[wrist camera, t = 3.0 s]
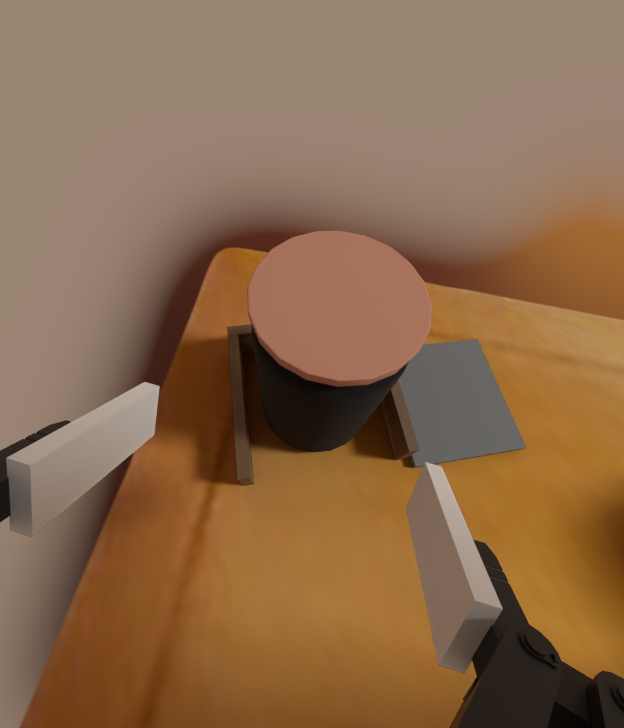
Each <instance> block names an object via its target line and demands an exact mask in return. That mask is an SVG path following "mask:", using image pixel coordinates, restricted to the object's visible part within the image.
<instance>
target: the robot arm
mask: <svg viewBox="0 0 624 728" xmlns="http://www.w3.org/2000/svg"><path fill="white" fill-rule="evenodd" d="M159 387H160V386H157V385H154V384H150V383H147V382H144V383H142V384H140V385H138V386H136V387H135V388H133V389H131V390H129V391H127V392H125V393H124V394H122V395H120V396H118V397H116V398H114V399H113V400H111V401H109V402H107V403H105V404H104V405H102V406H100V407H98V408H97V409H94V410H93V411H91V412H89V413H87V414H85V415H83V416H82V417H80V418H79V419H76V420H74V421H73V422H70V421H63V422H59V423H56V424H52V425H49V426H47V427H45V428H43V429H41V430H39V431H38V432H37V433H36V434H35V433H34V434H32V435H30V436H28V437H26V439H22V440H20V441H18V442H16V443H14V444H12V445H11V446H9V447H7V448H5V449H3V450H1V451H0V522H1V521H3V520H4V519H5V518H7V517H8V516H10V530H11V531H14V532H18V533H21V534H24V535H27V536H30V537H33V536H34V535H36V534H37V533H38V532H39V531H40V530H42V529H43V528H44V527H45V526H46V525H48V524H49V523H50V522H51V521H52V520H54V519H55V518H56V517H57V516H58V515H60V514H61V513H62V512H63V511H64V510H65V509H66V508H68V507H69V506H70V505H71V504H73V503H74V502H75V501H76V500H77V499H79V498H80V497H81V496H82V495H83V494H84V493H86V492H87V491H88V490H89V489H90V488H92V487H93V486H94V485H95V484H96V483H97V482H99V481H100V480H101V479H102V478H104V476H106V475H107V474H108V473H109V472H111V471H112V470H113V469H114V468H115V467H117V466H118V465H119V464H120V463H121V462H123V461H124V460H125V459H126V458H127V457H128V456H130V455H131V454H132V453H133V452H135V451H136V450H137V449H138V448H139V447H141V446H142V445H143V444H144V443H145V442H146V441H148V440H149V439H150V438H151V437H152V436H154V433H155V424H156V415H157V406H158V396H159ZM406 511H407V516H408V520H409V525H410V530H411V535H412V540H413V544H414V549H415V554H416V559H417V564H418V568H419V573H420V578H421V583H422V587H423V592H424V597H425V602H426V607H427V611H428V616H429V621H430V626H431V631H432V635H433V640H434V645H435V650H436V654H437V659H438V664H439V666H442V667H445V668H448V669H452V670H455V671H458V672H461V673H465V671H466V670H467V668H468V666H469V665H470V663H471V661H473V664H474V668H475V671H476V675H477V677H476V679H475V681H474V682H473V684H472V685H471V687H470V689H469V690H468V692H467V693H466V695H465V697H464V698H463V700H464V701H463V703H462V705H461V707H460V709H459V711H458V712H457V714H456V716H455V718H454V720H453V722H452V724H451V726H450V728H624V679H623V678H621V677H619V676H617V675H615V674H613V673H611V672H606V671H601V672H600V673H598V674H597V675H596V676H595V678H594V679H593V680H592V679H591V678H589V677H587V676H586V675H584V674H582V673H581V672H579V671H577V670H576V669H574V668H572V667H571V666H569V665H567V664H566V663H564V662H563V661H561V659H560V657H559V654H558V652H557V651H556V649H555V648H554V647H553V645H552V644H551V643H550V641H549V640H548V639H547V638H546V637H545V636H544V635H543V634H542V633H541V632H539V631H538V630H536V629H535V628H533V627H532V626H530V625H529V623H528V621H527V619H526V617H525V615H524V613H523V611H522V609H521V607H520V605H519V603H518V601H517V599H516V597H515V595H514V592H513V590H512V588H511V586H510V584H508V580H507V578H506V576H505V574H504V572H502V568H501V566H500V564H499V562H498V559H497V557H496V556H495V555H494V553H493V552H492V551H491V550H490V549H489V547H488V546H487V545H486V544H485V543H483V542H480V541H476V540H473V538H472V536H471V534H470V531H469V529H468V527H467V524H466V522H465V520H464V518H463V515H462V513H461V511H460V508H459V506H458V504H457V501H456V499H455V497H454V494H453V492H452V490H451V487H450V485H449V483H448V480H447V478H446V476H445V473H444V471H443V469H442V467H441V466H437V465H434V464H430V463H427V462H425V464H424V467H423V469H422V472H421V474H420V477H419V479H418V481H417V484H416V486H415V489H414V491H413V493H412V496H411V498H410V501H409V503H408V505H407V508H406Z"/></svg>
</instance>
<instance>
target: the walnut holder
mask: <svg viewBox="0 0 624 728" xmlns="http://www.w3.org/2000/svg"><path fill="white" fill-rule="evenodd" d="M227 331H228V345H229V360H230V375H231V390H232V405H233V420H234V435H235V449H236V464H237V479H238V481H239V482H240V483H241V484H242V485H243V486H244V485H250V484H254V481H253V469H252V458H251V446H250V435H249V423H248V412H247V401H246V389H245V378H244V366H243V355H242V353H248V352H254V349H253V343H252V327H251V325H242V326H232V327H227ZM380 405H381V409H382V412H383V416H384V419H385V423H386V427H387V430H388V434H389V438H390V441H391V445H392V449H393V452H394V456H395V460H400V459H405V458H407V457H409V456H410V455H412V454H414V453H416V452H417V451H419V450H420V449H419V445H418V442H417V439H416V436H415V432H414V429H413V426H412V423H411V420H410V416H409V413H408V410H407V407H406V403H405V400H404V397H403V394H402V391H401V387H400V384H399V381H397V382H396V383H395V385H394V386H393V387H392V388H391V390H390V391H389V392H388V394H387V395H386V396H385V398H384V399H383V400H382V402H381V403H380Z"/></svg>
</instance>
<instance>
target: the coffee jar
mask: <svg viewBox="0 0 624 728" xmlns="http://www.w3.org/2000/svg"><path fill="white" fill-rule="evenodd" d="M247 294H248V315H249V318H250V321H251V327H252V343H253V349H254V355H255V361H256V367H257V373H258V379H259V385H260V391H261V397H262V403H263V409H264V413H265V415H266V418H267V420H268V423H269V425H270V427H271V428H272V429H273V431H274V432H275V433H276V434H277V435H278V436H279V438H280V439H281V440H283V441H285V442H286V443H288V444H290V445H291V446H293V447H295V448H297V449H301V450H306V451H310V452H321V451H331V450H333V449H335V448H337V447H340V446H342V445H344V444H346V443H347V442H348V441H349V440H350V439H351V438H352V437H354V436H355V435H356V434H357V433H358V432H359V430H360V429H361V428H362V426H363V425H364V424H365V422H366V421H367V420H368V419H369V417H370V416H371V415H372V413H373V412H374V411H375V409H376V408H377V407H378V405H379V404H380V403H381V402H382V400H383V399H384V398H385V396H386V395H387V394H388V392H389V391H390V390H391V388H392V387H393V386H394V385H395V383H396V382H397V381H398V379H399V378H400V377H401V375H402V374H403V373H404V371H405V369H406V367H407V365H408V363H409V361H410V360H411V359H412V358H413V357H414V356H415V355H416V354H417V353H418V352H419V351H420V349H421V347H422V345H423V343H424V341H425V339H426V337H427V335H428V333H429V331H430V325H431V306H432V304H431V301H430V298H429V295H428V292H427V289H426V286H425V283H424V281H423V280H422V279H421V277H420V276H419V274H418V273H417V272H416V270H415V269H414V267H413V266H412V265H411V263H410V262H409V261H407V260H406V259H405V258H403V257H402V256H401V255H400V254H398V253H397V252H396V251H395V250H393V249H392V248H391V247H389V246H387V245H385V244H383V243H381V242H378V241H376V240H374V239H372V238H370V237H367V236H363V235H359V234H354V233H349V232H345V231H316V232H312V233H308V234H304V235H300V236H296V237H292V238H291V239H289V240H287V241H285V242H284V243H282V244H280V245H278V246H277V247H275V248H273V249H272V250H271V251H270V252H269V253H268V254H267V255H266V256H265V257H264V258H263V259H262V261H261V262H260V263H259V264H258V265H257V266H256V268H255V271H254V273H253V276H252V279H251V281H250V284H249V286H248V289H247Z"/></svg>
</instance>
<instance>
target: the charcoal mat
mask: <svg viewBox="0 0 624 728" xmlns="http://www.w3.org/2000/svg"><path fill="white" fill-rule="evenodd" d="M398 381H399V384H400V387H401V391H402V394H403V397H404V400H405V403H406V407H407V410H408V413H409V416H410V420H411V423H412V426H413V429H414V432H415V436H416V439H417V442H418V445H419V449H420V450H419V451H417V452H416V453H414V454H412V455H410V456H409V457H410V460H411V463H412V467H413V468H416V467H422V466H424V464H425V462H427V463H430V464H439V463H445V462H451V461H456V460H462V459H468V458H474V457H480V456H486V455H491V454H497V453H503V452H509V451H515V450H520V449H524V448H526V446H525V444H524V442H523V440H522V437H521V435H520V433H519V431H518V428H517V426H516V424H515V422H514V420H513V417H512V415H511V413H510V411H509V409H508V406H507V404H506V402H505V400H504V397H503V395H502V393H501V391H500V389H499V386H498V384H497V382H496V380H495V377H494V375H493V373H492V371H491V369H490V366H489V364H488V362H487V360H486V358H485V355H484V353H483V351H482V349H481V346H480V344H479V342H478V340H477V339H471V340H463V341H454V342H445V343H437V344H428V345H422V347H421V349H420V351H419V352H418V353H417V354H416V355H415V356H414V357H413V358H412V359H411V360H410V361H409V363H408V365H407V367H406V369H405V371H404V373H403V374H402V375H401V377H400V378H399V379H398Z"/></svg>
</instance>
